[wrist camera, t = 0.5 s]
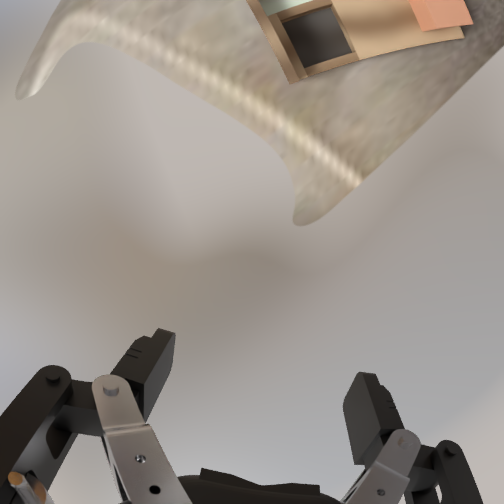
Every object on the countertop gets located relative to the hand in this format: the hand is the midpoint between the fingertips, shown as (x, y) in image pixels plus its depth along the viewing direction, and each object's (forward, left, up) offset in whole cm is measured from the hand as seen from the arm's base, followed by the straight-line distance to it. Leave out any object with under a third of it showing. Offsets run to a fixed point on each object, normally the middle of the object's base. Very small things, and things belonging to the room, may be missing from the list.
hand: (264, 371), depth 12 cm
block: (-13, +23, -27) cm, 37 cm away
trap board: (-17, +15, -29) cm, 37 cm away
